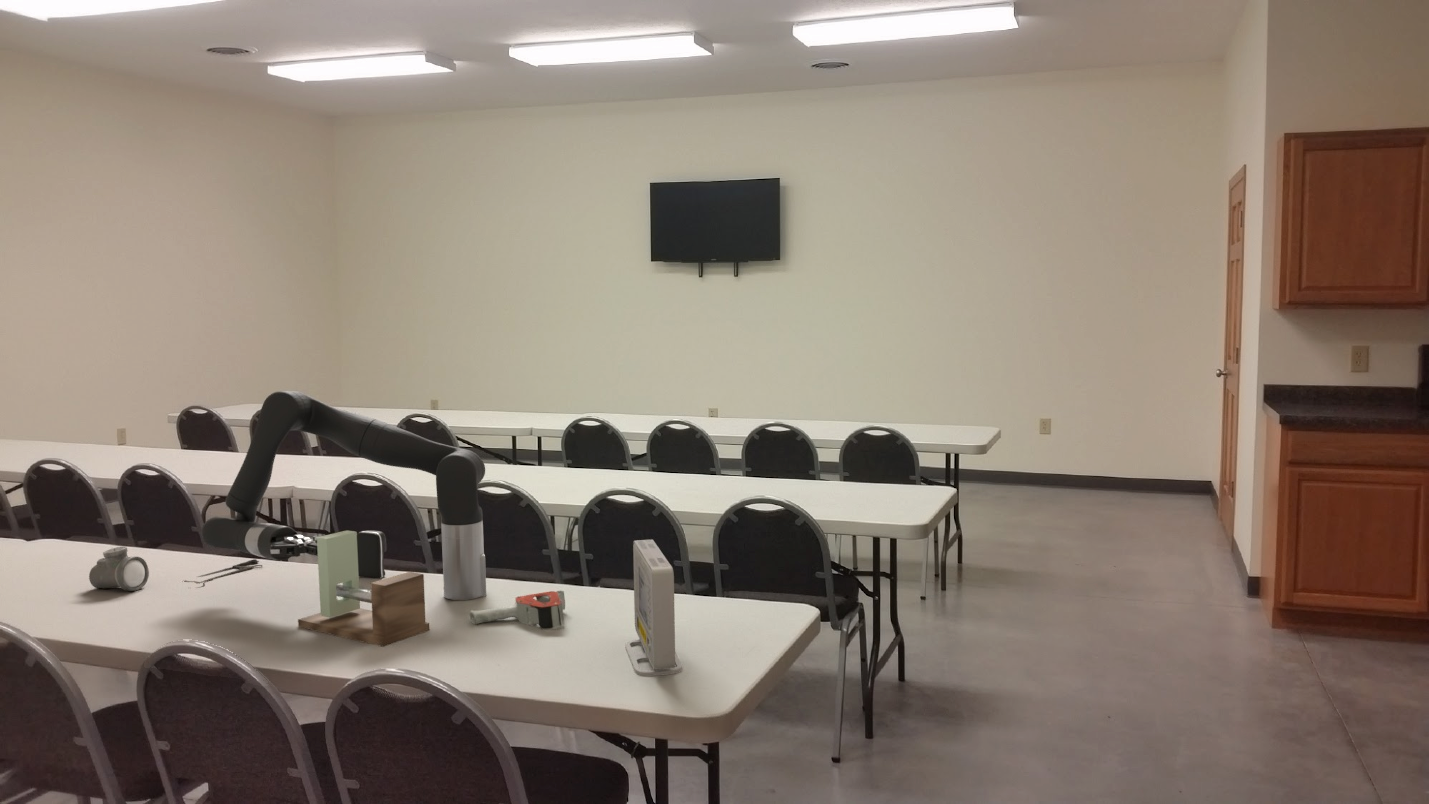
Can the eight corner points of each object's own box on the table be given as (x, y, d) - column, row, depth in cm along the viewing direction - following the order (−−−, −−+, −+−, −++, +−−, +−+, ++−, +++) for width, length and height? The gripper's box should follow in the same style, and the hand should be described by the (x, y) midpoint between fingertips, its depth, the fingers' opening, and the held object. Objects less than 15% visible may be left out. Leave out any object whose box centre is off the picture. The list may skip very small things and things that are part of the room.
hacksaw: (255, 563, 276) (255, 557, 276) (281, 568, 271) (280, 562, 271) (168, 585, 256) (167, 579, 256) (193, 591, 251) (193, 584, 250)
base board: (298, 626, 220) (295, 570, 219) (345, 611, 230) (343, 557, 229) (383, 646, 207) (380, 586, 205) (429, 630, 217) (427, 573, 216)
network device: (688, 679, 187) (686, 568, 185) (639, 683, 185) (637, 572, 183) (664, 635, 212) (662, 537, 210) (621, 638, 210) (619, 539, 208)
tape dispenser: (464, 631, 222) (535, 641, 210) (461, 607, 221) (532, 615, 210) (523, 606, 236) (592, 614, 225) (520, 583, 236) (589, 590, 224)
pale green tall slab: (320, 615, 220) (316, 537, 218) (350, 606, 226) (347, 530, 224) (330, 617, 218) (326, 538, 216) (360, 608, 224) (356, 531, 223)
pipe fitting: (154, 583, 254) (144, 543, 252) (127, 595, 246) (117, 553, 245) (115, 586, 257) (105, 545, 256) (87, 597, 250) (77, 556, 248)
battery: (389, 575, 261) (388, 530, 259) (380, 579, 257) (378, 533, 256) (365, 573, 263) (363, 528, 262) (356, 577, 259) (354, 531, 258)
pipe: (321, 596, 223) (321, 583, 222) (333, 593, 225) (332, 579, 225) (393, 611, 211) (392, 597, 211) (404, 608, 213) (403, 594, 213)
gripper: (243, 530, 227) (294, 539, 217) (296, 519, 238) (347, 527, 229) (245, 564, 227) (296, 574, 218) (298, 551, 238) (349, 561, 229)
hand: (322, 550), depth 223 cm, fingers closed
